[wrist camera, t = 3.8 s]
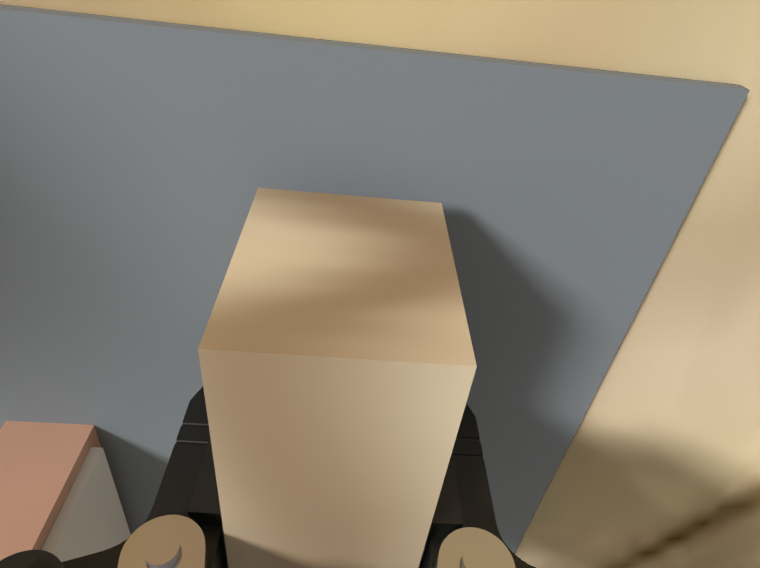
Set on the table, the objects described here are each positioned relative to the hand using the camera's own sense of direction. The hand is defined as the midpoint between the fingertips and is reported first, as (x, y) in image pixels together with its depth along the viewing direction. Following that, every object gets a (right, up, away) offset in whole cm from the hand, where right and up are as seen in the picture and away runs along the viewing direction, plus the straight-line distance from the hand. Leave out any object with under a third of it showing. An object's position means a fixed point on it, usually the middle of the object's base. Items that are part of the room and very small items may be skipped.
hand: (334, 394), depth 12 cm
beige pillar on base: (0, -2, +1) cm, 2 cm away
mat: (-5, -1, +2) cm, 5 cm away
